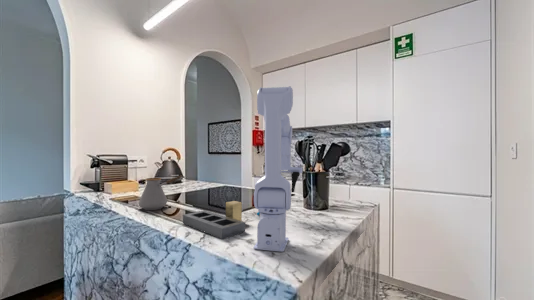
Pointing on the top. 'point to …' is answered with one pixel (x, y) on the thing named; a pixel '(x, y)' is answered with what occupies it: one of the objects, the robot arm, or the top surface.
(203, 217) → the grey compartment tray
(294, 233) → the top surface
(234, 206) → the tan rectangular block
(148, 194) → the coffee pot
